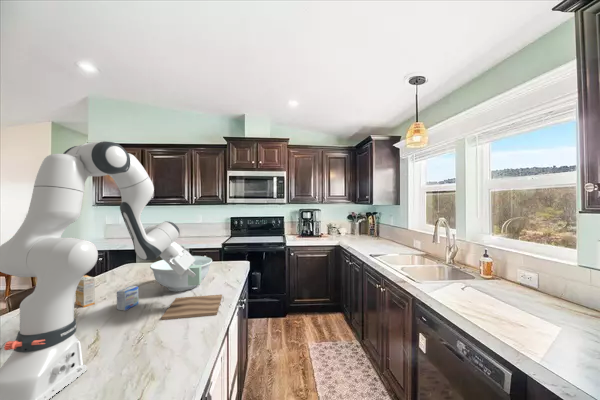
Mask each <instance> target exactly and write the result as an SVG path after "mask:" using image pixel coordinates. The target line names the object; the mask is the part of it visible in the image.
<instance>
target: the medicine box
mask: <svg viewBox="0 0 600 400" xmlns="http://www.w3.org/2000/svg"><path fill="white" fill-rule="evenodd" d="M139 298H140V297H139V286H138V285H131V286H128V287H125V288H122V289H120V290H117V291H116V310H117V311H128V310H129V309H131V308H133V307H135V306H138V305H139V301H140V300H139Z"/></svg>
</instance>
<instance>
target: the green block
mask: <svg viewBox="0 0 600 400" xmlns="http://www.w3.org/2000/svg"><path fill="white" fill-rule="evenodd" d="M189 269H190V270H191V271H193V272H195V273H196V276H195V277H191V276H190V275H188V286H192V285H197V286H200V284H201V283H202V281H201V265H191V266H190V267H189Z"/></svg>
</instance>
